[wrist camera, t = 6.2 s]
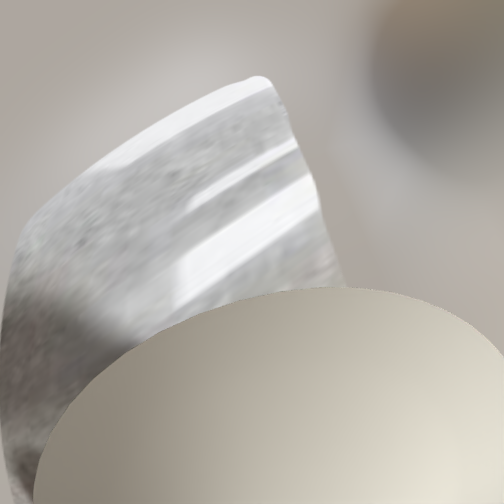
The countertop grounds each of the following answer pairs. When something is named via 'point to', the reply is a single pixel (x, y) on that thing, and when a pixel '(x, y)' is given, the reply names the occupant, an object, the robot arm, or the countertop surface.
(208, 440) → the tumbler
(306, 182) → the countertop surface
